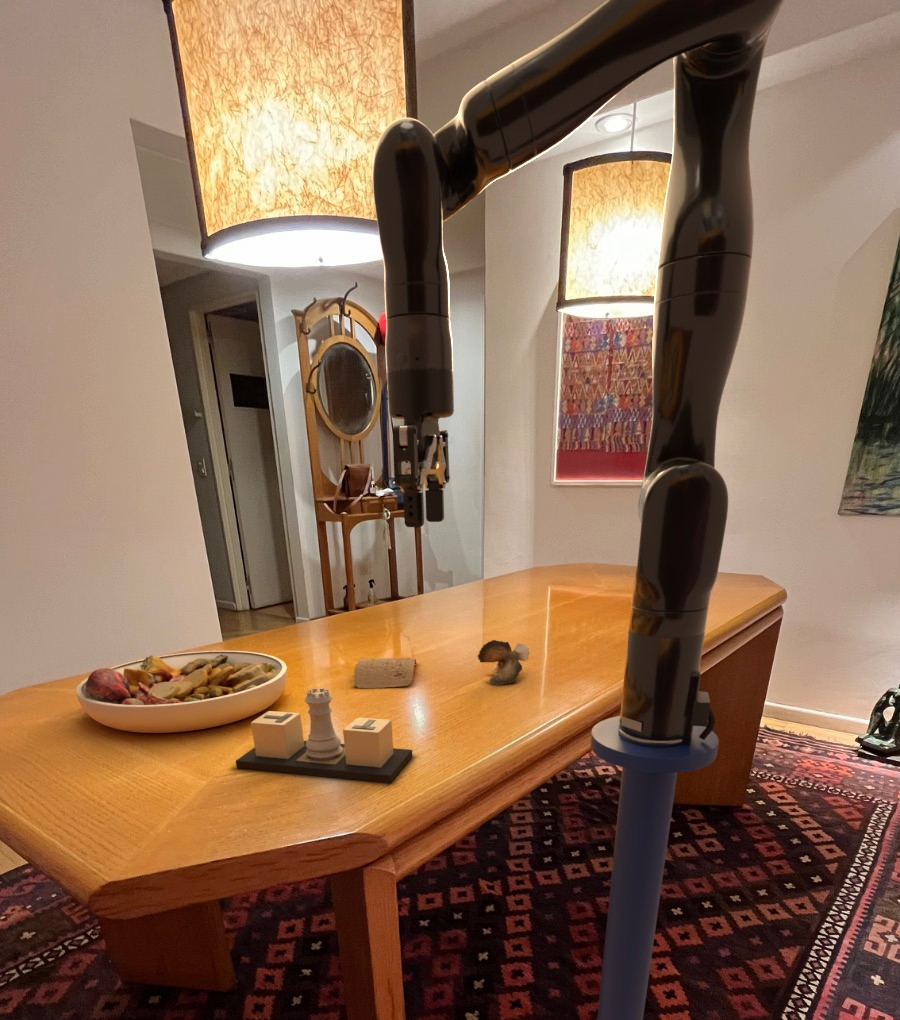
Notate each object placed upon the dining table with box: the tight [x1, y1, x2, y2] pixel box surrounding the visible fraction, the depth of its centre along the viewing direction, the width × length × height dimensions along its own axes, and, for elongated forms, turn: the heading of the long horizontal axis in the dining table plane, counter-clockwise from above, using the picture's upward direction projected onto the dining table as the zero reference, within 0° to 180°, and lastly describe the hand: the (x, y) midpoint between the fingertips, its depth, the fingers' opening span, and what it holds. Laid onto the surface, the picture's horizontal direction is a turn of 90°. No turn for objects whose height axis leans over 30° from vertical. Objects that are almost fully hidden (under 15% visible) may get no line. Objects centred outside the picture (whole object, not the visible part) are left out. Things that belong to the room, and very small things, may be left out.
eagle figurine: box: [477, 639, 530, 686], centre depth 113 cm, size 8×7×9 cm
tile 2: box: [342, 717, 394, 768], centre depth 80 cm, size 4×4×4 cm
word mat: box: [235, 740, 413, 784], centre depth 83 cm, size 20×8×1 cm, turn 75°
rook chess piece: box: [304, 687, 342, 760], centre depth 81 cm, size 4×4×8 cm
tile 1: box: [250, 710, 305, 759], centre depth 83 cm, size 4×4×4 cm
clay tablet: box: [353, 657, 417, 689], centre depth 117 cm, size 14×10×3 cm
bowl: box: [75, 650, 288, 734], centre depth 103 cm, size 30×30×8 cm
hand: (425, 524), depth 83 cm, fingers open, 8 cm apart
